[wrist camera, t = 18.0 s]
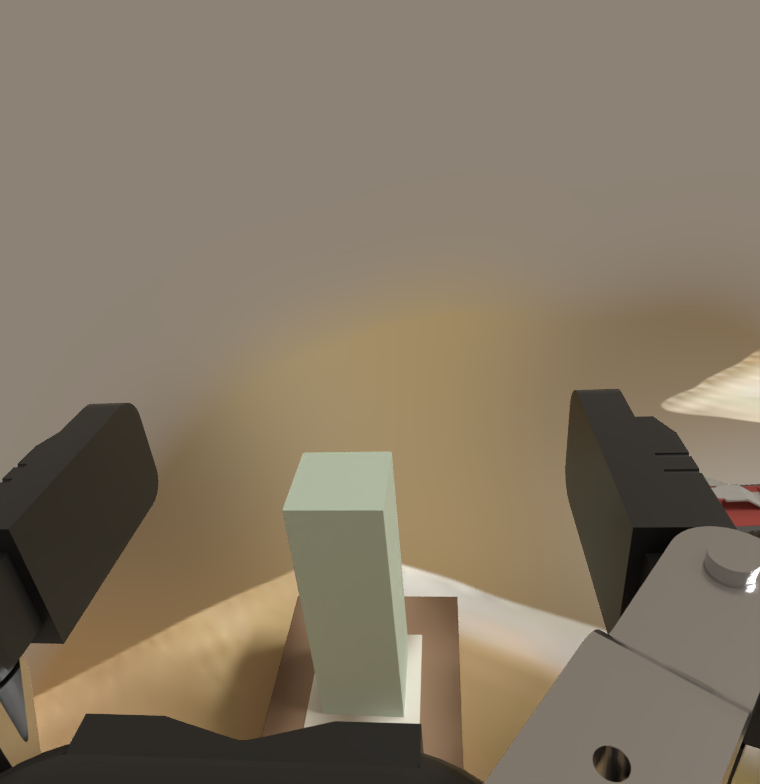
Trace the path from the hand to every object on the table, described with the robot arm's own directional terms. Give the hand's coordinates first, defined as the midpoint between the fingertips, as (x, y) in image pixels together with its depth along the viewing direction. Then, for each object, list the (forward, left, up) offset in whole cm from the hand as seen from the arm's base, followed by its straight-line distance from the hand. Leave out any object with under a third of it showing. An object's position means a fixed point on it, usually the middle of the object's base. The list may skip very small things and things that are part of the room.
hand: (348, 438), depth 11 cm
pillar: (+4, -16, -29) cm, 33 cm away
